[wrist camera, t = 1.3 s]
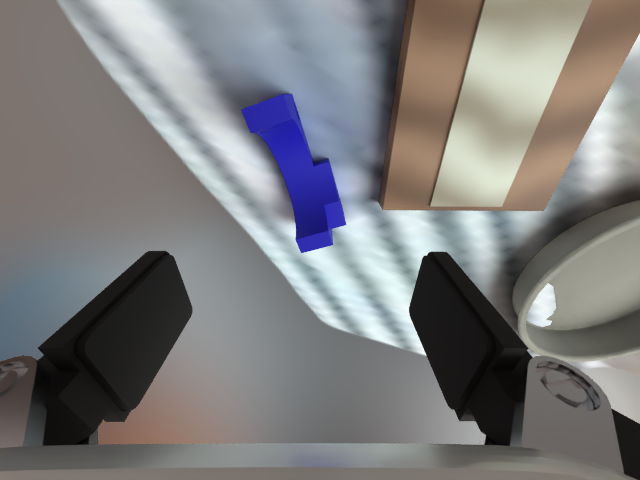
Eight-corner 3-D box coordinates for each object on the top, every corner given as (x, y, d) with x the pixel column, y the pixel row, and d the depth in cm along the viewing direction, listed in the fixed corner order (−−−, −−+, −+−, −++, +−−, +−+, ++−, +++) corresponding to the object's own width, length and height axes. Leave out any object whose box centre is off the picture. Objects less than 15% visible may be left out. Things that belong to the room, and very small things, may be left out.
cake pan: (585, 162, 24) (637, 175, 20) (786, 202, 26) (868, 221, 22) (464, 325, 36) (481, 353, 32) (606, 343, 38) (638, 371, 35)
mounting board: (408, -8, 17) (419, -21, 15) (632, -6, 17) (670, -19, 15) (378, 202, 25) (383, 210, 23) (528, 203, 25) (545, 211, 24)
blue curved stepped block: (343, 212, 26) (349, 240, 21) (304, 222, 27) (301, 253, 22) (309, 88, 20) (305, 85, 15) (260, 105, 21) (240, 109, 16)
